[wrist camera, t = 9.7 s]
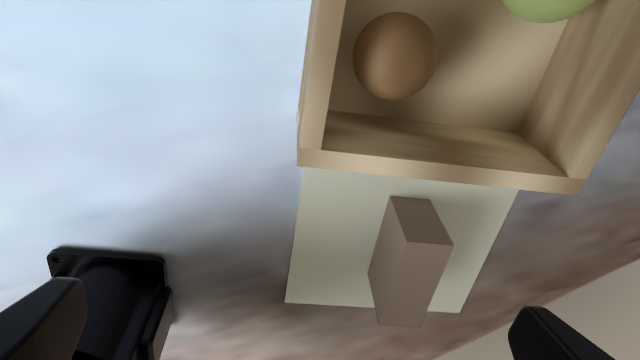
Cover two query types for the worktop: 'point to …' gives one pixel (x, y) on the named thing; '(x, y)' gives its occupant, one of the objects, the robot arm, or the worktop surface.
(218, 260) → the worktop surface
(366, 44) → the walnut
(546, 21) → the lime
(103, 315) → the robot arm
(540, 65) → the box
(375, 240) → the lid
